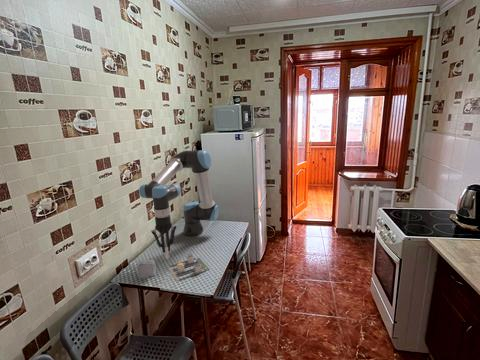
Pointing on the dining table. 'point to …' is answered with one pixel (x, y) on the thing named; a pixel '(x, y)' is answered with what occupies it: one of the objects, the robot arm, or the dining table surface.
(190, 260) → the block
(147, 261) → the medicine box
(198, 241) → the dining table surface
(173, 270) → the panel
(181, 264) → the block
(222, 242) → the dining table surface
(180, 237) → the dining table surface
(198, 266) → the block
